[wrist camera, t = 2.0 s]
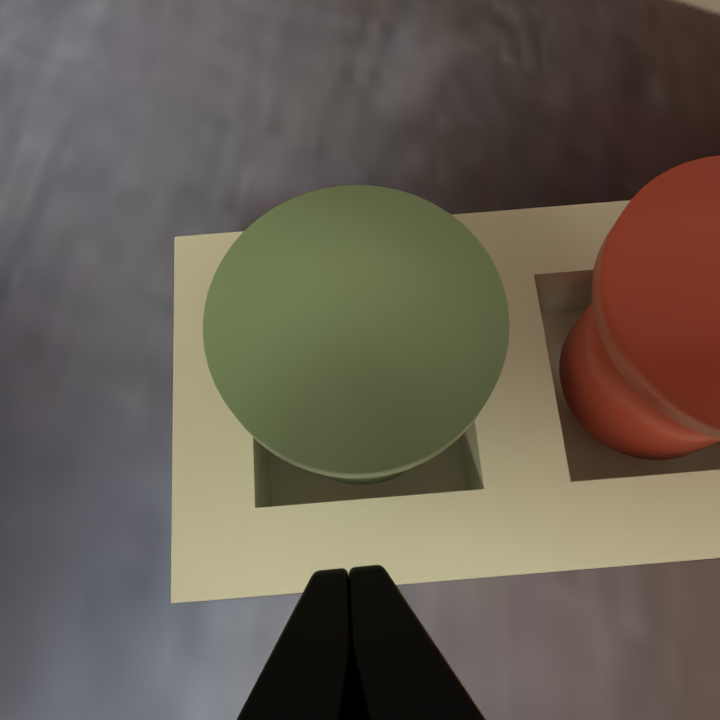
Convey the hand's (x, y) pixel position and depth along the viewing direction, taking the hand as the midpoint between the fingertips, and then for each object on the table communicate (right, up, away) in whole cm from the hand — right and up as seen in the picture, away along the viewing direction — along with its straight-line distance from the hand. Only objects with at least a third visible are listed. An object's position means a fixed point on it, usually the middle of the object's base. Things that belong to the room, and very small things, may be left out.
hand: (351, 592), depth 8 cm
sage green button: (0, +2, +11) cm, 11 cm away
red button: (+8, +2, +11) cm, 14 cm away
